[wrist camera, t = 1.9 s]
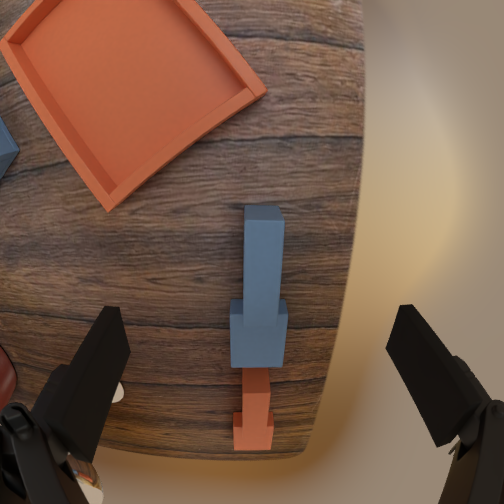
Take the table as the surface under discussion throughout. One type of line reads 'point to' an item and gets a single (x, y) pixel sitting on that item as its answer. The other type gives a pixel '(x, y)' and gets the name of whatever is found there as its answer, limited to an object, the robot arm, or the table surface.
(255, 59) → the table surface
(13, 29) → the red tray
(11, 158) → the blue tray
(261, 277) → the blue stepped block
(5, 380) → the flower pot
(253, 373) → the red offset step block
